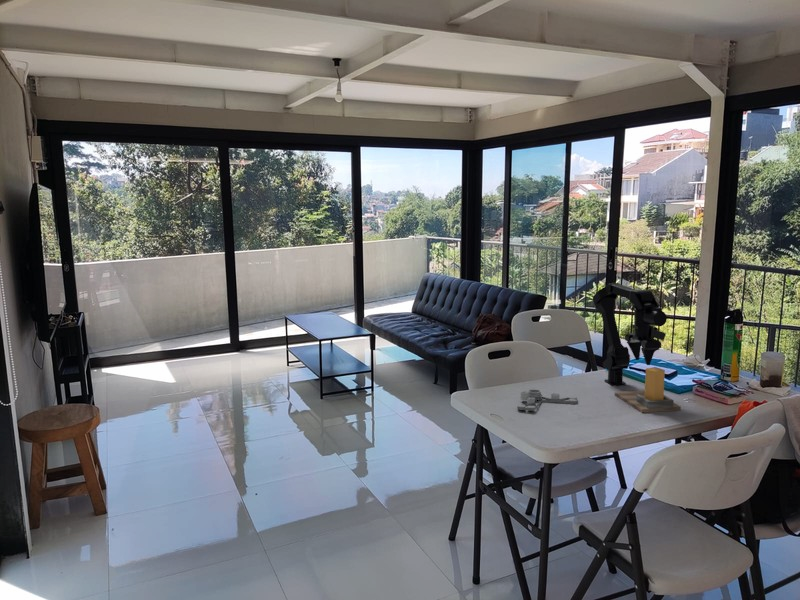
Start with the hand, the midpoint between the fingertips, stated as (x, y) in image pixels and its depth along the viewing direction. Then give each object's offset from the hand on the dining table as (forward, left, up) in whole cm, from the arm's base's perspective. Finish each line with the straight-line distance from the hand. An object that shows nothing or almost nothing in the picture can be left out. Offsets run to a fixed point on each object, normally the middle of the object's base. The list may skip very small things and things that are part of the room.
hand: (642, 362), depth 228 cm
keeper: (+9, -3, -13) cm, 16 cm away
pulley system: (+1, -41, -14) cm, 43 cm away
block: (+14, -3, -12) cm, 18 cm away
